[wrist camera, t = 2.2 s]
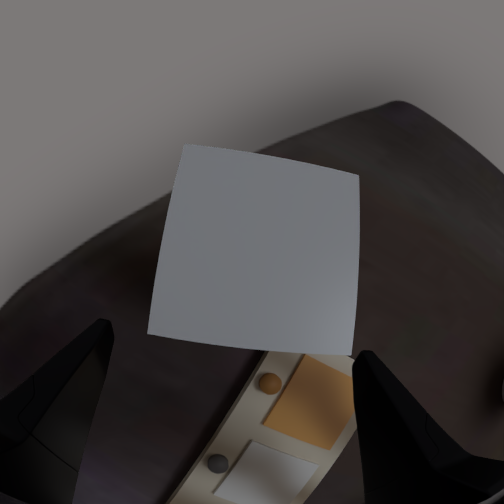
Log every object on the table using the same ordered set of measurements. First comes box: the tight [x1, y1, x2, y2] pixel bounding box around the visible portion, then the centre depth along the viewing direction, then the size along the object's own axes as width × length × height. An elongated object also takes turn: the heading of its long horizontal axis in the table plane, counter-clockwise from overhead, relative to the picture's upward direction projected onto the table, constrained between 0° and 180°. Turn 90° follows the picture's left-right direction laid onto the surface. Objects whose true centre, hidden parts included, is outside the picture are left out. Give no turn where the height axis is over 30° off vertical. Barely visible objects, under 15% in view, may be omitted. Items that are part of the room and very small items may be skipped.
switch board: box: [165, 350, 357, 504], centre depth 16 cm, size 22×9×2 cm, turn 150°
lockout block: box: [147, 144, 360, 355], centre depth 13 cm, size 4×4×14 cm
